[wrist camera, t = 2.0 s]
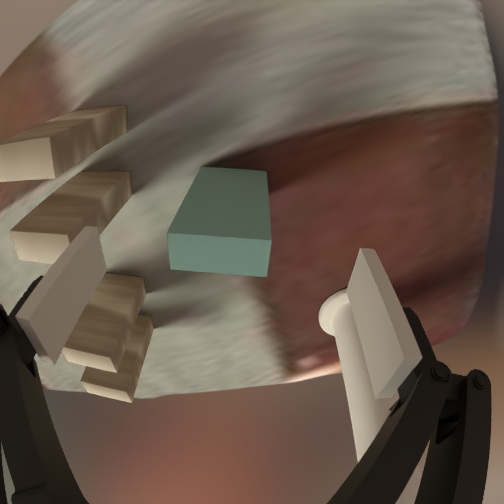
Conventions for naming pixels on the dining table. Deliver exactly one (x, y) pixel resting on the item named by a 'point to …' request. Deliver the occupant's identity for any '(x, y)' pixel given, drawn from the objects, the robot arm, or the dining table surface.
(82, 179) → the tile
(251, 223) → the tile
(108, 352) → the tile
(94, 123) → the tile
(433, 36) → the dining table surface
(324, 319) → the white post
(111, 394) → the light brown flat block
